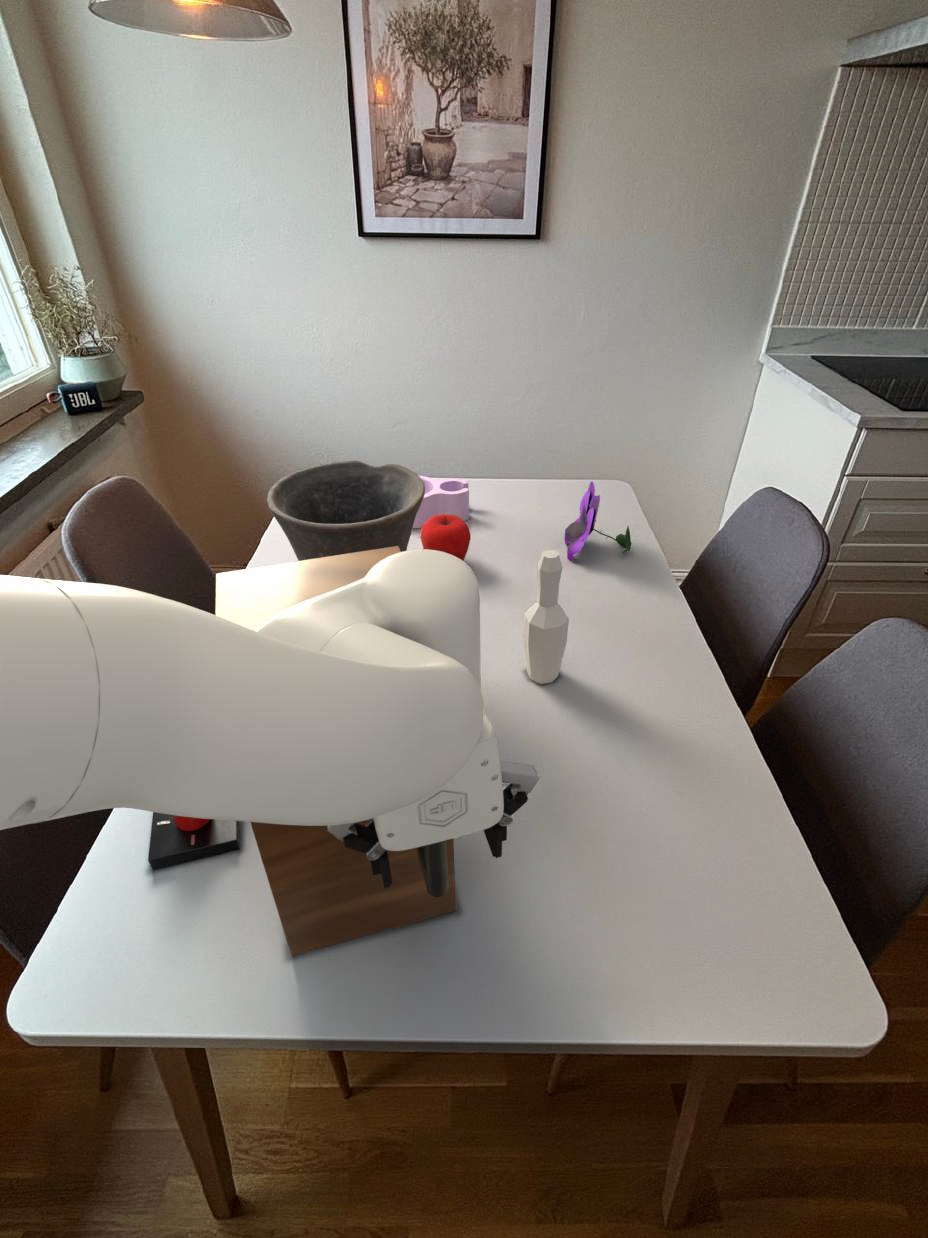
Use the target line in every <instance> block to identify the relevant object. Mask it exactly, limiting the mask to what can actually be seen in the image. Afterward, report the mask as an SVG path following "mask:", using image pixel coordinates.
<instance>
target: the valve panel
mask: <svg viewBox="0 0 928 1238" xmlns="http://www.w3.org/2000/svg"><path fill="white" fill-rule="evenodd" d="M151 819H152V820H151V829H150V837H149V847H148V858H147V861H148V863H149V866H150V868H151V870H152V871H158V870H161V869H165V868H169V867H173V866H177V865H182V864H186V863H191V862H195V861H199V860H203V859H207V858H211V857H215V856H220V855H224V854H229V853H233V852H236V851H237V852H238V851H240V850H241V835H240V834H241V833H240V831H241V829H240V828H241V827H240V821H231V820H215V819H210V820H209V822H208V823H207V824H205V825H204V826H203V827H201V828H199V829H197V830H193V831H184V830H181V829H179V828H178V827H177V826H176V823H175V821H174V818H173V816H172V815H169V814H163V813H157V812H152V817H151Z"/></svg>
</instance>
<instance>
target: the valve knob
mask: <svg viewBox="0 0 928 1238" xmlns="http://www.w3.org/2000/svg"><path fill="white" fill-rule="evenodd" d="M172 816H173V818H174V821H175V823H176V826H177V827H178V828H179V829H181V830H184V831H193V830H197V829H199V828H201V827H203V826H204V825H205V824H207V823H208V822H209V820H210V819H203V818H193V817H184V816H176V815H172Z"/></svg>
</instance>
